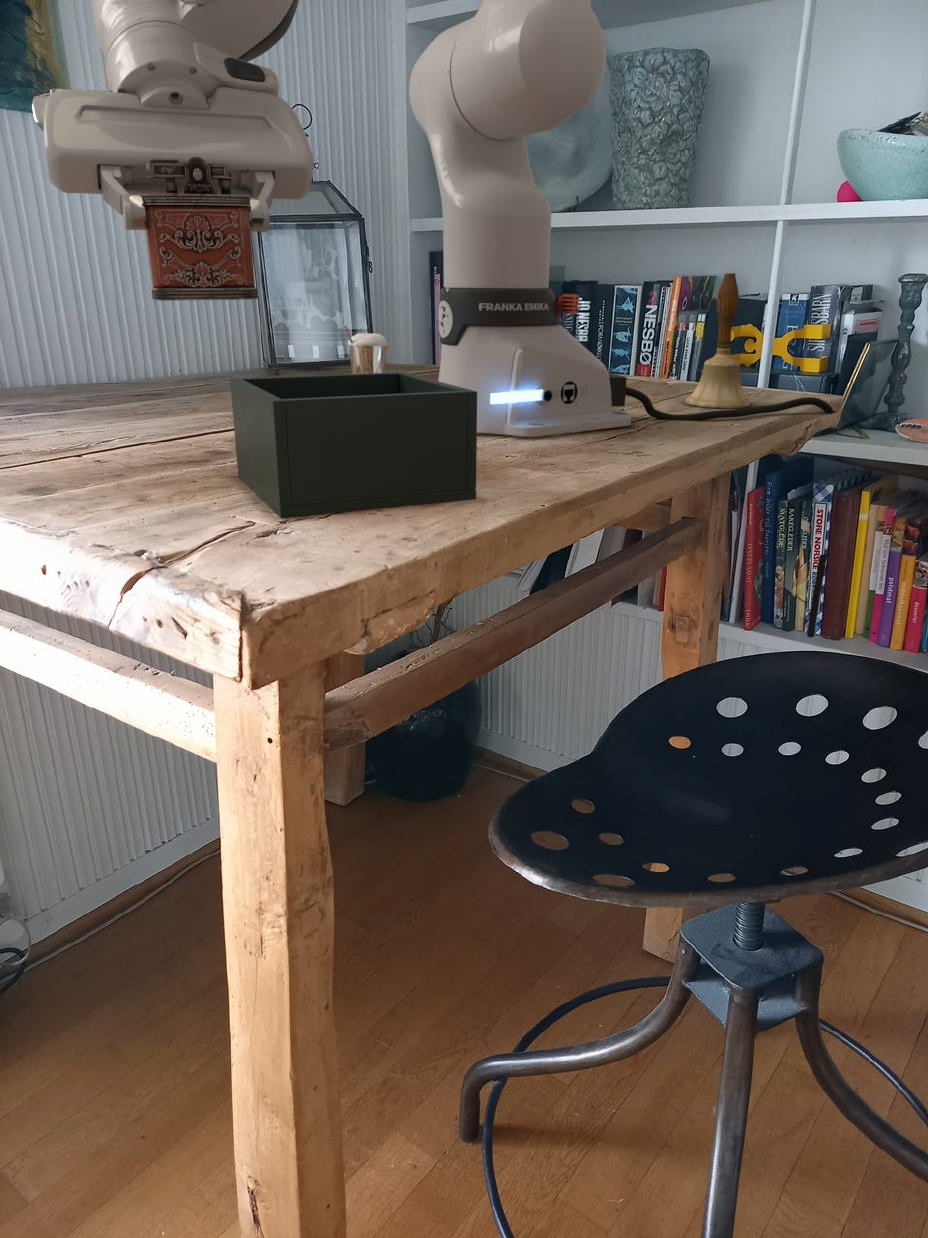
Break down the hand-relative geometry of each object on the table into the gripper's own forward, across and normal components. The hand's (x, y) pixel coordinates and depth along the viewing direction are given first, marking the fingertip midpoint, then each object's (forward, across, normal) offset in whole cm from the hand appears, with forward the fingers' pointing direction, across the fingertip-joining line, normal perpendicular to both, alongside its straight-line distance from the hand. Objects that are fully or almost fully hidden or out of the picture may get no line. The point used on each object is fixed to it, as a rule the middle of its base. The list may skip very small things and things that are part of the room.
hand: (200, 224), depth 69 cm
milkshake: (-6, +22, +34) cm, 40 cm away
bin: (+21, +8, +6) cm, 23 cm away
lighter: (+4, 0, +4) cm, 6 cm away
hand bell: (+1, +67, +28) cm, 72 cm away
